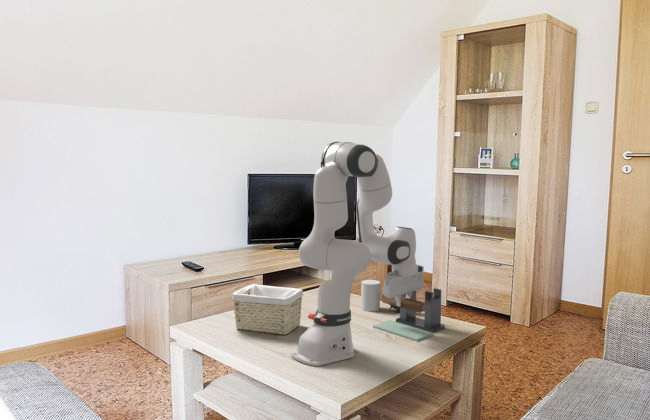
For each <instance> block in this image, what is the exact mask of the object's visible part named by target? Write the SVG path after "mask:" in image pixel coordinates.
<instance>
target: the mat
mask: <svg viewBox="0 0 650 420" xmlns="http://www.w3.org/2000/svg"><path fill="white" fill-rule="evenodd" d="M372 328H373V329H377V330H380V331H382V332H384V333H385V332H386V333H388V334H391V335H395V336H398V337H402V338H404V339H408V340H411V341H414V342H419V341H422V340H425V339H427V338H429V337H431V336H434V333H431V332H428V331H425V330H421V329H418V328H415V327H411V326H408V325H404V324H401V323H398V322H396V321H393V320H391V319H389V320H387V321H383V322H380V323H377V324H374V325H373V326H372Z"/></svg>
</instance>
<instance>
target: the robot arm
mask: <svg viewBox="0 0 650 420" xmlns="http://www.w3.org/2000/svg"><path fill="white" fill-rule="evenodd" d="M389 174H390V173H389V171H388V168H387V165H386V164H385V161H384V159H383V157H382V156H381V155H379V154H377V153H376V152H375V151H374V150H373V149H372V148H371V147H369V146H367V145H365V144H359V143H354V142H351V141H333V142H331V143H328V144H327V145H326V146H325V147H324V148H323V150H322V153H321V161H320V168H318V169H316V172H315V173H314V177H313V191H312V192H313V193H312V194H313V195H312V196H313V212H314V219H313V226H312V230H311V232H310V233H309V235H308V236H307V237H306V238H305V239H304V240H302V242H301V243H300V245H299V249H298V258H299V261H300V262H301V264H302V265H303V266H305V267H309V268H311V269H314V270H322V271H323V270H324V271H330V272H332V273H331V274H332V275H331V278H330V279H329V280H326V281H324V282H323V283H321V284H320V285H319V286H318V289H317V309H316V311H315V313H312V312H310V313H308V315H307V318H308V319H309V320H312V321H313V322H312V323H311V325H310V326H309V327H308V328H307V329H306V330H305V331H304V332H303V333H302V334H301V335H300V337H299V340H298V345H297V348H296V349H295V350H292V351H291V352H290V356H291V357H292V358H293V360H296V361H298V362H300V363H303V364H305V365H310V366H313V367H314V366H315V367H319V366H320V367H321V366H324V365H328V364H332V363H336V362H340V361H343V360H349V359H353V358H355V347H354V344H353V338H352V329H351V322H352V310H351V307H350V306H351V290H352V286H353V284H354V282H355V280H356V279H357V277H358V276H359V275H360V274H361V273H363V272H365V271H366V269H367V268H368V267H369V265H370V262H372V263H379V264H385V265H391V271H390V272H388V273H387V274H386V275H385V278H384V281H383V286H382V287H383V288H382V294H383V295H384V296H385V297H388V298H392V297H394V298H395V300H396V305H397V306H402V301H401V300H400V298H401V295H403V294H406V297H405V298H409V299H410V298H411V296H412V292H413V291H416V292H417V291H420V290H422V289H423V286H424V273H423V272H424V270H425V269H424V266H423V265H420V264H416V263H417V261H416V251H417V240H416V239H417V237H416V232H415V229H413V228H411V227H405V226H395V227H394V230H393V232H392V233H391V235H389V236H388V237H386V236H379V235H377V234H376V233H375V232H374V231H375V230H374V221H373V214H374V212H375V213H376V212H377V211H379V210H381V209H383V208H384V207H386V206H387V205H388V204H389V203H390V201H391V200H392V198H393V187H392V183H391V178H390V175H389ZM349 177H355V178H356V179H357V182H358V189H359V198H358V200H357V203H356V222H357V230H358V231H357V232H358V241H357V240H352V239H341V238H336V237H335V232H336V231H338V230H340V229H341V228H343V227H344V226H345V225H346V224H347V222H348V220H349V212H348V211H349V210H348V195H347V188H346V185H347V181H348V179H349Z"/></svg>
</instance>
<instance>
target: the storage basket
mask: <svg viewBox="0 0 650 420" xmlns="http://www.w3.org/2000/svg"><path fill="white" fill-rule="evenodd" d="M303 297H304V290H303V289H302V288H294V287H293V288H292V287H283V286H282V287H281V286H274V285H273V286H272V285H263V284H255V283H253V284H252V283H251V284H250V285H246V286H245V287H242V288H239V290H236V291H234V292H233V293H232V301H233V309H234V315H235V316H234V318H235V328H236V329H237V328H238V329H237V330H241V329H244V330H243V331H248V330H249V331H250V330H251V331H250V332H258V333H260V332H261V333H264V332H265V334H274V335H275V334H276V335H288V334H290V332H293V330H295V329H296V328H298V326H300V324H301V315H302V302H303Z"/></svg>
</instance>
